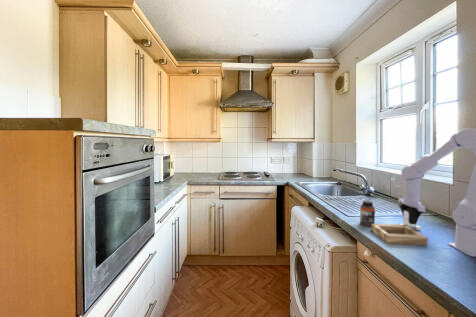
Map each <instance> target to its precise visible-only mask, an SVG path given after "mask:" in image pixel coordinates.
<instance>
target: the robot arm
mask: <svg viewBox="0 0 476 317" xmlns="http://www.w3.org/2000/svg"><path fill="white" fill-rule="evenodd" d="M464 148H466V150H470V151H471V152H472V153H473V154H474V155H475V156H476V128H472V127H471V128H470V127H466V128H462V129H460V130H458V131H457V133H454V134H452V135H451V136H450V138H448V139H447V141H445V142H444V143H443V144H442V145H440V146H439V147H438V148H437V149H436V150H434V151H433V152H432V153H430V154H424V155H420V156H419V159H417V160H416V161H415V162H412V163H411V164H410V166H409V165H407V166H403V168H402V169H401V173H400V174H401V176H402V178H403V179H404V180H403V198H400V197H399V198H398V203H400V204H399V205H398V207H399V209H400V210H401V212H402V218H403V217H404V210H408V213H409V220H410V224H416V223H418V220H419V218H420V217H421V215H422V214H423V213H424V212H426V206H424V205H423V204H422V202H420V199H421V198H420V197H421V194H420V193H421V182H422V179H423V178H424V177H425V176H426V173H428V172H430V171H431V170H432V169H434V168H436V167H437V166H438V164H439V161H440V160H442V159H443V158H445V157H446V156H448V155H450V154H452V153H454V151H456V150H458V149H464ZM451 214H452V219H453V221H454V222H455V235H454V237H455V238H454V242H447V245H449V246H450V247H453V248H455V249H457V250H458V251H460V252H461V253H464V254H465V255H467V256H469V257H474V258H475V257H476V162H475V163H474V167H473V170H472V173H471V176H470V180H469V184H468V186H467V189H466V193H465V196H464V198H463V200H461V201H460V202H459V203H458V205H457V207H456V209H454V210H453V212H452V213H451Z"/></svg>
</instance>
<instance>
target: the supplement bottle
mask: <svg viewBox="0 0 476 317" xmlns="http://www.w3.org/2000/svg"><path fill="white" fill-rule="evenodd" d="M373 203H374V202H373V201H371V200H366V199H365V200H363V201H362V204H361V205H360V206H359V207H360V209H359V210H360V212H359V214H360V215H359V224H360V225H363V226H365V227H371V224H375V214H376V213H375V212H376V208H375V206H374V205H373Z"/></svg>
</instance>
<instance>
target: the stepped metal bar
mask: <svg viewBox="0 0 476 317" xmlns="http://www.w3.org/2000/svg"><path fill="white" fill-rule="evenodd" d="M402 219H403V220H402V222H403V223H398V225H406V226H408V227H410V228H411V229H413V230H415V231H422V230H421V229H422V226H420V225H418V224H417V223H418V222H417V223H416V224H410V220H409V213H408V210H404V217H403V216H402Z"/></svg>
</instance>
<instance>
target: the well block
mask: <svg viewBox="0 0 476 317" xmlns="http://www.w3.org/2000/svg"><path fill="white" fill-rule="evenodd" d="M370 231H372V233H374V234H375V235H376V236H378V237H379V238H380V239H381V240H383V241H384V242H385V243H386V244H390V245H391V244H393V245H412V246H415V245H416V246H428V237H427V236H425V235H423V234H421V233H420V232H418V230H413V229H411V228H410V227H408V226H406V225H399V224H393V223H391V224H390V223H388V224H387V223H374V224H371V226H370Z"/></svg>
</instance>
